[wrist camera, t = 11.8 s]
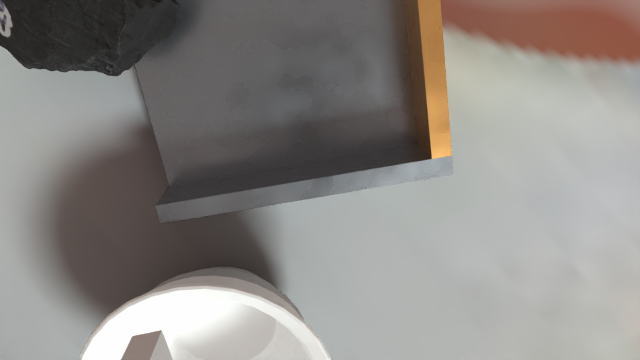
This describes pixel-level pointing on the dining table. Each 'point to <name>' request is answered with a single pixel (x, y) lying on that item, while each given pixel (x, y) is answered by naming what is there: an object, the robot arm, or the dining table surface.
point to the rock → (85, 32)
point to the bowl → (211, 320)
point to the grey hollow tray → (295, 101)
